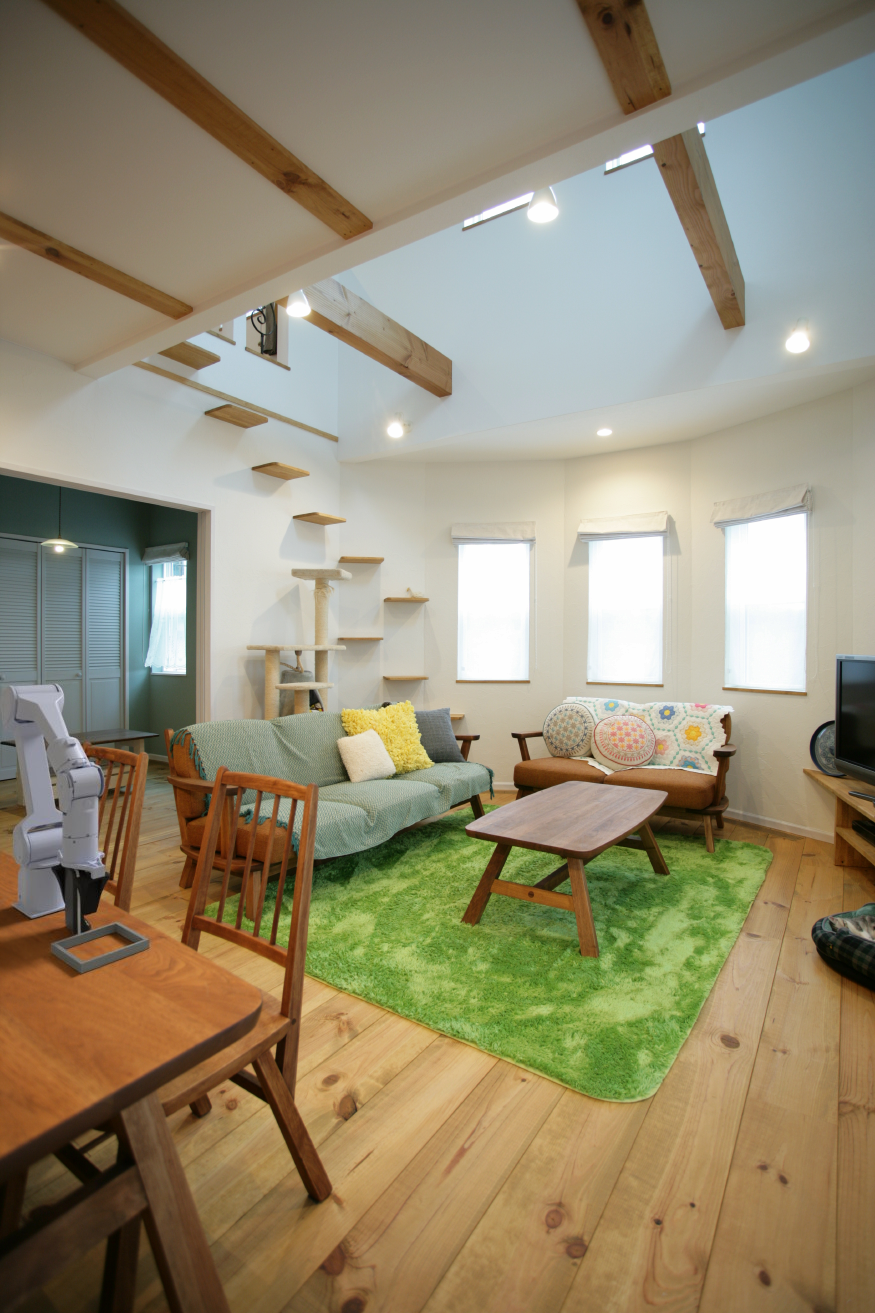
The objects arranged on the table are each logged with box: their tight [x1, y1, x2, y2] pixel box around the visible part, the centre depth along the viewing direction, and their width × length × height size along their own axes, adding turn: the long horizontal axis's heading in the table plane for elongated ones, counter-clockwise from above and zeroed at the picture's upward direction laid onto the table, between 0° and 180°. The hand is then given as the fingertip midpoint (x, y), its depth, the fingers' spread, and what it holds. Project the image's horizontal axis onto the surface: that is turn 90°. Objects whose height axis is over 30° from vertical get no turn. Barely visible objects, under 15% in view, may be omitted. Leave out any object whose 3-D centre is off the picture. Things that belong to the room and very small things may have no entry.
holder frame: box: [50, 921, 150, 975], centre depth 111 cm, size 11×11×2 cm
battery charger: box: [64, 867, 92, 936], centre depth 119 cm, size 7×4×11 cm, turn 42°
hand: (80, 908), depth 119 cm, fingers closed on battery charger, 7 cm apart
